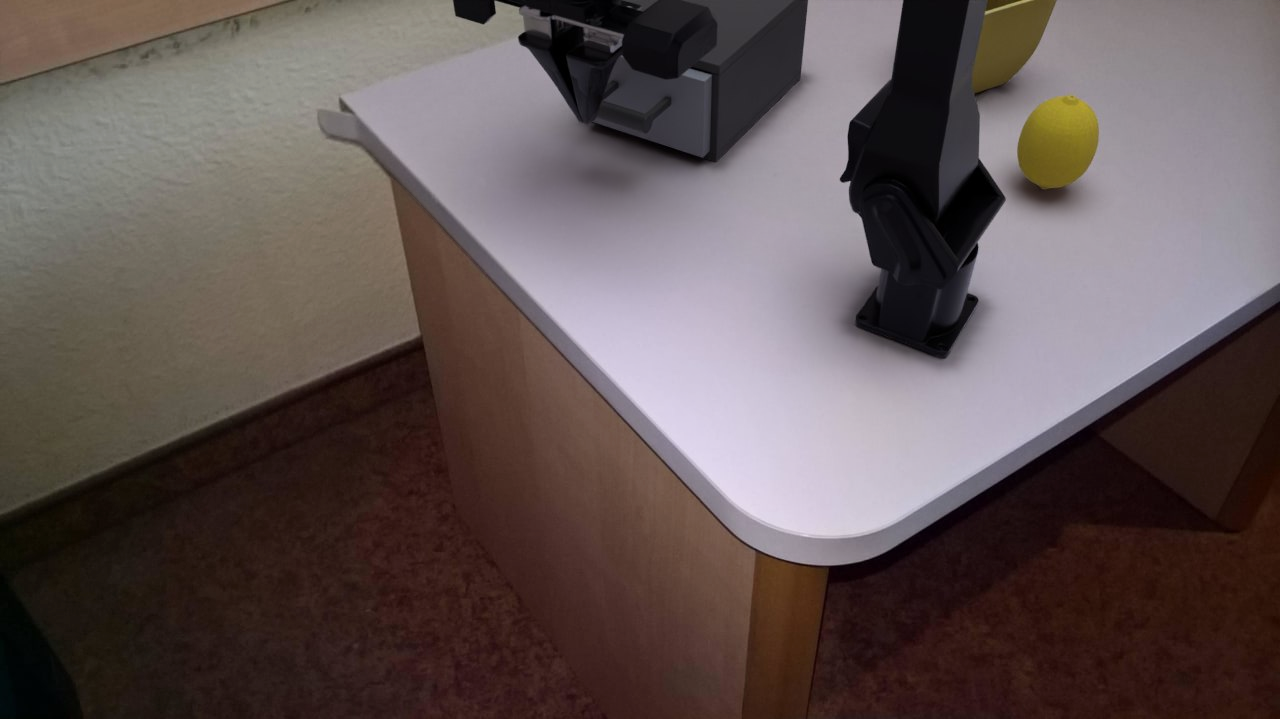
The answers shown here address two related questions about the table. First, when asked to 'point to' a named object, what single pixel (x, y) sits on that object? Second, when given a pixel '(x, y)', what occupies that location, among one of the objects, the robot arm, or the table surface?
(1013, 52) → the flower pot
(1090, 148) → the lemon
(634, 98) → the pod drawer
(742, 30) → the small drawer cabinet
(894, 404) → the table surface
